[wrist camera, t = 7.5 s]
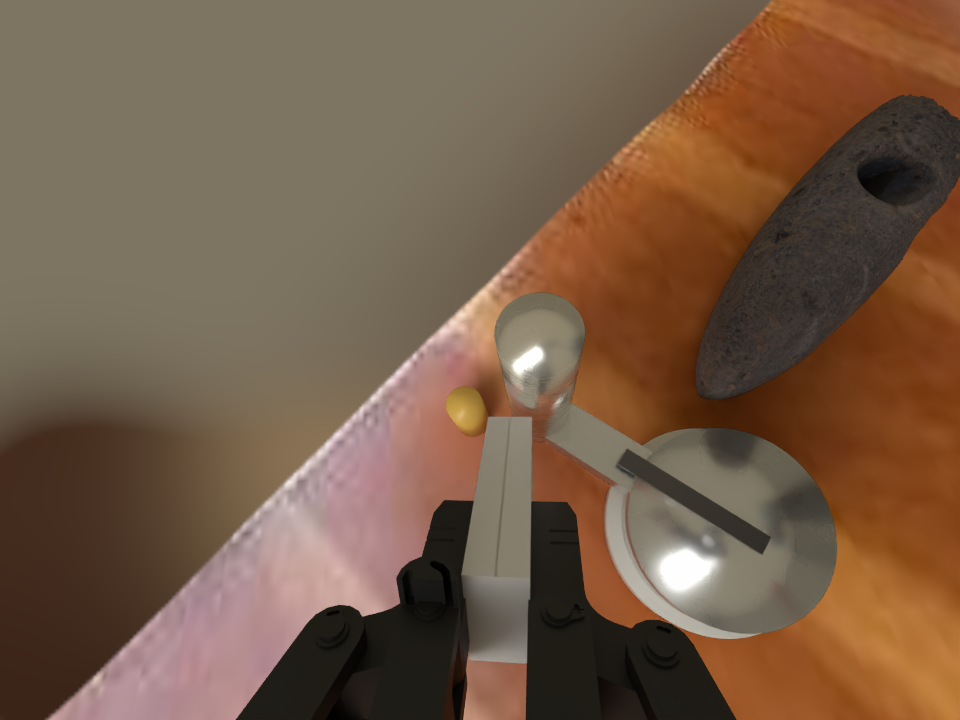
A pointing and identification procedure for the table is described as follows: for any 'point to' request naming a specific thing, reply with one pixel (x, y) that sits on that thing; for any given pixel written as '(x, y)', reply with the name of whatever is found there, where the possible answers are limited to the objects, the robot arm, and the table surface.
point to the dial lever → (679, 488)
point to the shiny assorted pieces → (473, 422)
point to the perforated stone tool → (829, 244)
